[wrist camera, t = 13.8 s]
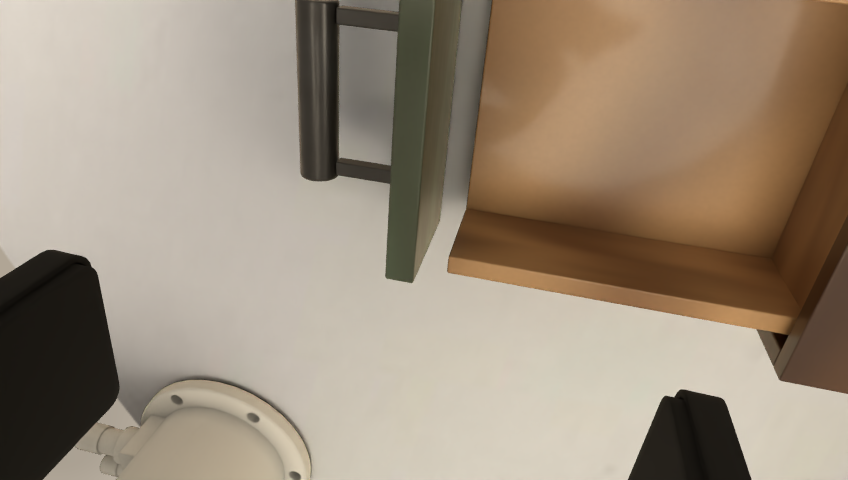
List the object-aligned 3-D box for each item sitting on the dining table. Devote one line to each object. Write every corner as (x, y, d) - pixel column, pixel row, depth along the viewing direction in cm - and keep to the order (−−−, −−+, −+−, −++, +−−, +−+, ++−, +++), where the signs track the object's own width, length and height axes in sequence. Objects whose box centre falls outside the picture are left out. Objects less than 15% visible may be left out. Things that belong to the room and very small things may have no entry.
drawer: (332, 202, 30) (284, 260, 25) (331, -103, 23) (265, -108, 18) (770, 277, 27) (816, 360, 22) (915, -52, 20) (1028, -42, 15)
